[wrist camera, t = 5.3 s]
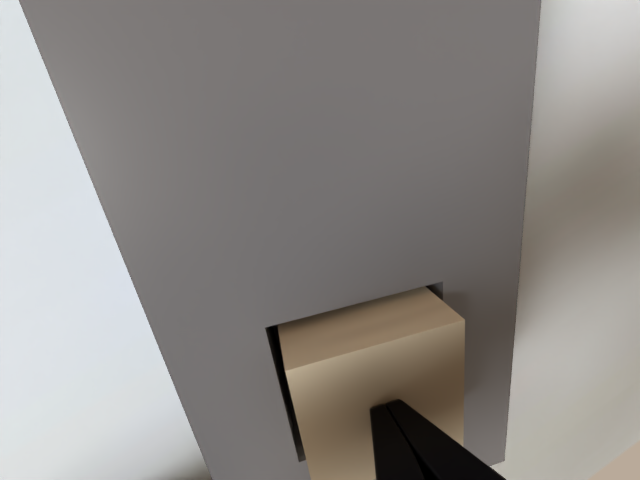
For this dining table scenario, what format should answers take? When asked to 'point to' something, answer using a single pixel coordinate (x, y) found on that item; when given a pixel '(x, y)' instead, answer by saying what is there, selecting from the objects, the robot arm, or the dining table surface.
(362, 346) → the ash key
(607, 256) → the dining table surface
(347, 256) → the key housing
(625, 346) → the dining table surface
